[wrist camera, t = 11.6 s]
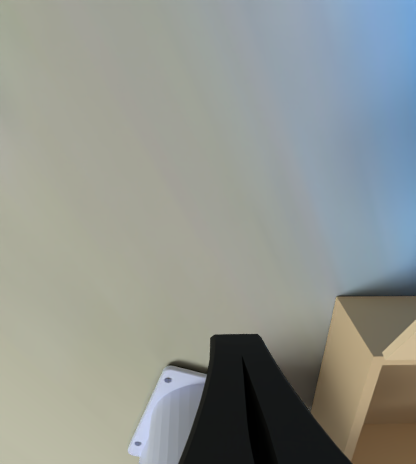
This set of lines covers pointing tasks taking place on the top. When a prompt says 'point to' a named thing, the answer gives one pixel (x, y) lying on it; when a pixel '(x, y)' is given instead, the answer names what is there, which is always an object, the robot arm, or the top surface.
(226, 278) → the top surface
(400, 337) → the flap
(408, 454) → the carton
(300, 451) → the robot arm
